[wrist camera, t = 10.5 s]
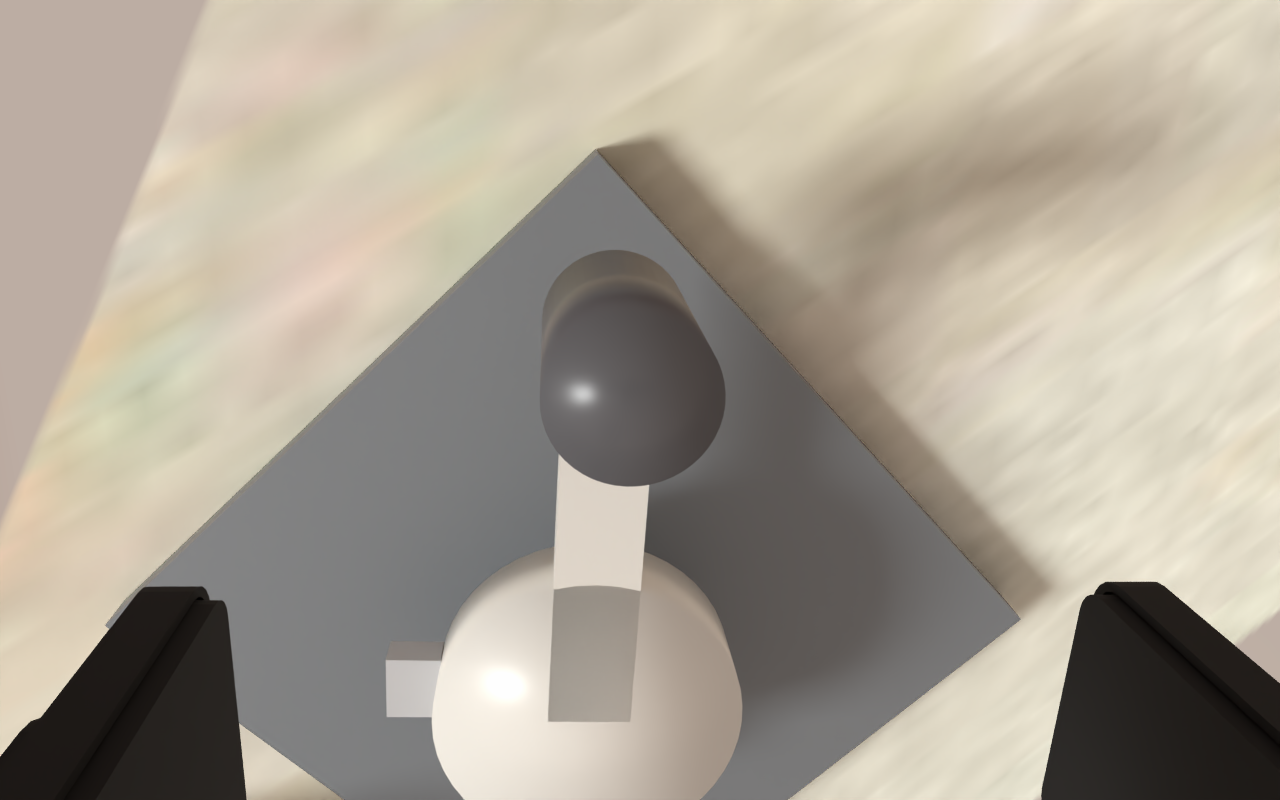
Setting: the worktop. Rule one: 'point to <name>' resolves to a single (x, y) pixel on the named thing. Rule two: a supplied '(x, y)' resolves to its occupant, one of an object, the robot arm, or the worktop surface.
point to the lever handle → (593, 576)
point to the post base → (525, 523)
